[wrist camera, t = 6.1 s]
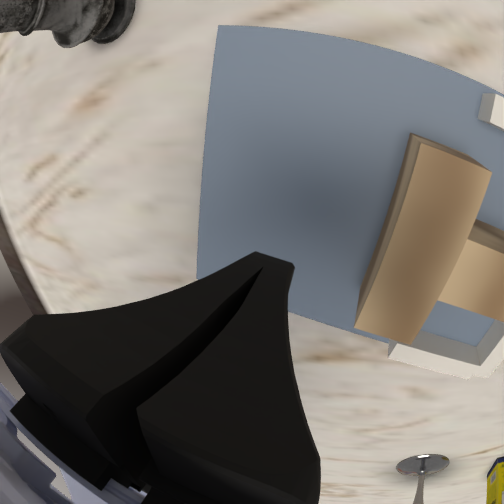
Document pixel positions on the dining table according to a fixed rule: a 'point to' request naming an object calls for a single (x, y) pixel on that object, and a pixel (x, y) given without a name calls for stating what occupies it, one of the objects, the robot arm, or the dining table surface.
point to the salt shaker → (68, 19)
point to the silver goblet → (422, 470)
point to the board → (328, 161)
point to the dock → (447, 350)
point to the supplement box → (496, 483)
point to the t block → (432, 245)
